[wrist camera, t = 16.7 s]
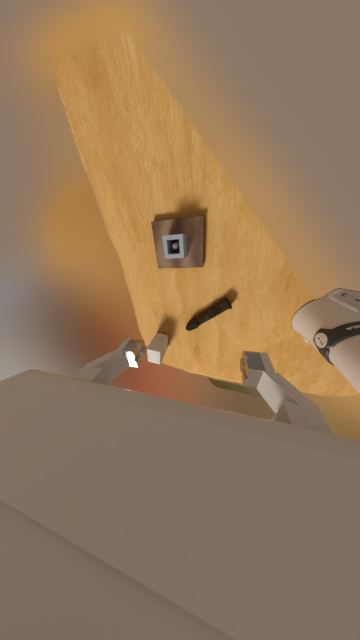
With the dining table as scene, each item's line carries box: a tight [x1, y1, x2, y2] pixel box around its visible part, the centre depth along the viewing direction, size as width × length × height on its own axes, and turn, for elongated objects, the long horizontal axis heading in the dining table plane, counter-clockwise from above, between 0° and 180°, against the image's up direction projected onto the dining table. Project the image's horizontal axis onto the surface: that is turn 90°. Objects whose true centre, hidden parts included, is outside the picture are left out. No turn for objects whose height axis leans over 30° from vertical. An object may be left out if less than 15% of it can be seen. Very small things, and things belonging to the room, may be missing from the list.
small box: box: [147, 333, 168, 364], centre depth 57 cm, size 8×6×10 cm
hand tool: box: [186, 298, 232, 331], centre depth 47 cm, size 19×4×5 cm, turn 131°
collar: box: [162, 234, 188, 259], centre depth 35 cm, size 5×5×5 cm
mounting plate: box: [151, 216, 204, 268], centre depth 36 cm, size 14×12×5 cm
